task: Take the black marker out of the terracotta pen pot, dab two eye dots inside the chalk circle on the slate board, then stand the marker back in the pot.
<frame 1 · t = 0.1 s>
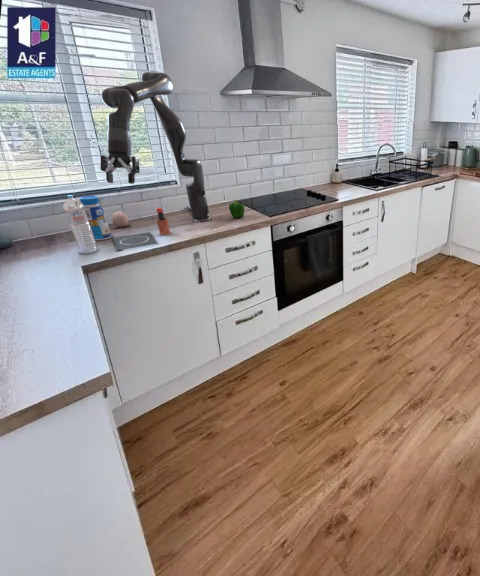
hand: (120, 183, 148), 31 cm above the countertop, tool tilted 20°, fingers open, 8 cm apart
egg: (122, 227, 196), on the countertop
pen pot: (165, 234, 188), on the countertop
slate board: (134, 241, 177), on the countertop
marker: (165, 233, 188), resting on pen pot
blue lidded canister: (102, 238, 180), on the countertop
water bottle: (89, 252, 165), on the countertop
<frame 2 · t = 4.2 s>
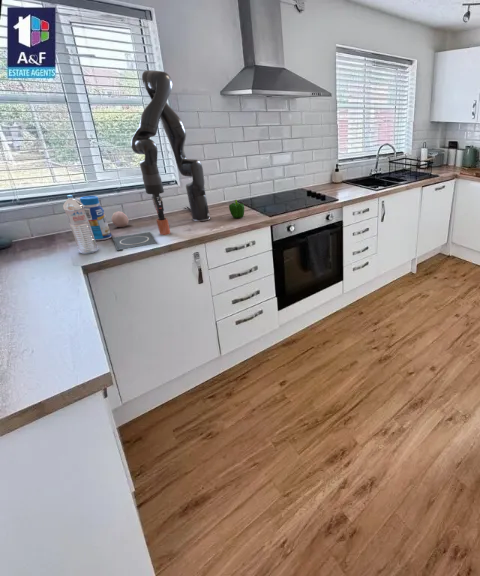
hand: (161, 217, 184), 9 cm above the countertop, tool pointing down, fingers closed on marker, 2 cm apart
marker: (165, 233, 188), point 1 cm above the countertop, touching gripper, pen pot
everything else where it was.
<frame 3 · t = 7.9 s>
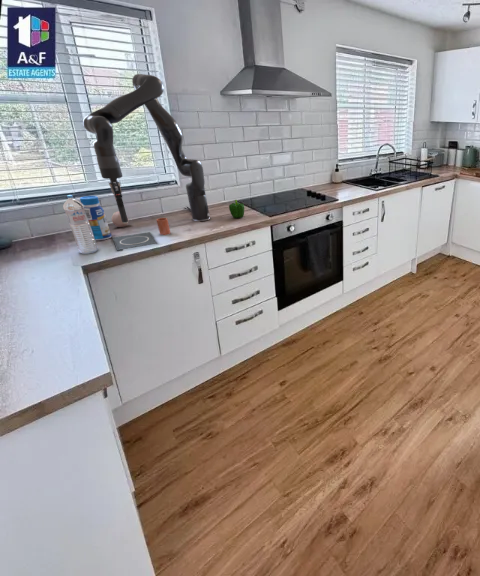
hand: (120, 205, 167), 18 cm above the countertop, tool pointing down, fingers closed on marker, 2 cm apart
marker: (125, 223, 171), point 10 cm above the countertop, touching gripper
everything else where it was.
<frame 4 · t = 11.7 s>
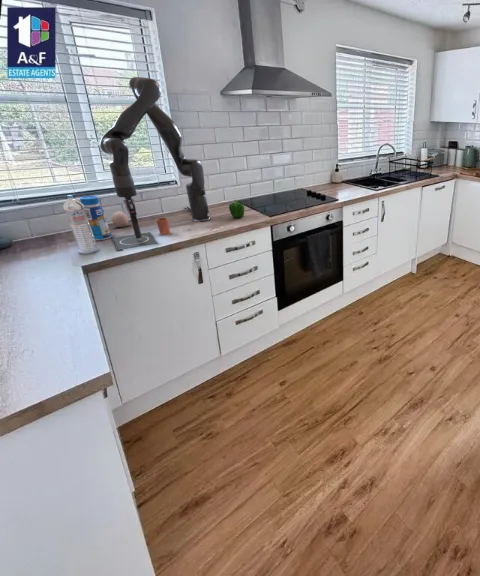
hand: (134, 222, 173), 10 cm above the countertop, tool pointing down, fingers closed on marker, 2 cm apart
marker: (139, 238, 176), point 2 cm above the countertop, touching gripper
everything else where it was.
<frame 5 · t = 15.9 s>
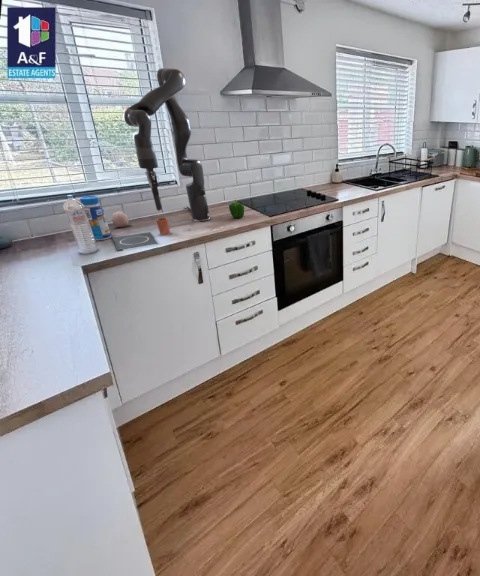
hand: (155, 194, 179), 20 cm above the countertop, tool pointing down, fingers closed on marker, 2 cm apart
marker: (159, 210, 183), point 12 cm above the countertop, touching gripper
everything else where it was.
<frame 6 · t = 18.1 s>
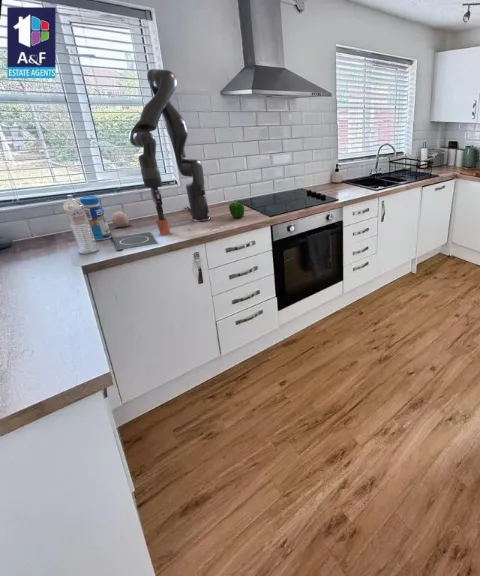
hand: (160, 211, 183), 12 cm above the countertop, tool pointing down, fingers closed on marker, 2 cm apart
marker: (163, 227, 186), point 4 cm above the countertop, touching gripper
everything else where it was.
when the fingers open (9 cm above the countertop, at t = 19.4 s): marker stays where it is, resting on pen pot.
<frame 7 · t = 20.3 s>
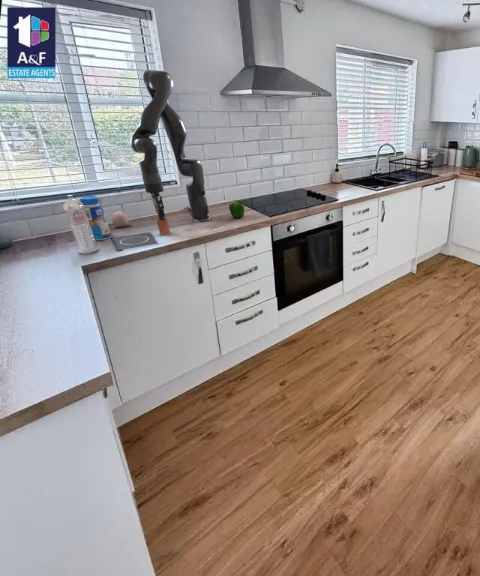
hand: (160, 214, 184), 10 cm above the countertop, tool pointing down, fingers open, 8 cm apart
marker: (165, 233, 188), resting on pen pot
everything else where it was.
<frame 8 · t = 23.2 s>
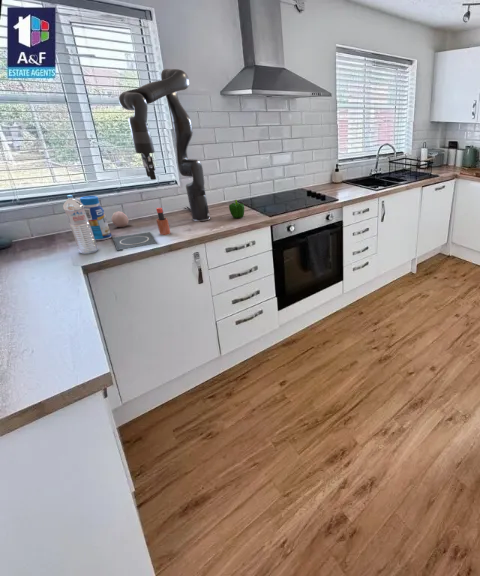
hand: (151, 178, 176), 28 cm above the countertop, tool pointing down, fingers open, 8 cm apart
nothing on the countertop moved.
at the end: marker 0.1 cm off-centre in the pen pot, point 0.5 cm above the pen pot's base; marker tilted 0°; the gripper is holding nothing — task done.
